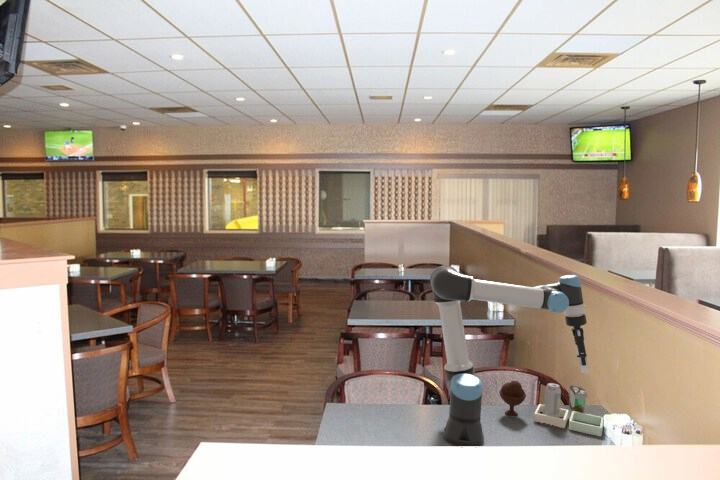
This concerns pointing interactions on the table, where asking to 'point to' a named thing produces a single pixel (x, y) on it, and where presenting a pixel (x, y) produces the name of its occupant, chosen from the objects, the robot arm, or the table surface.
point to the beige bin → (549, 419)
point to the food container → (577, 398)
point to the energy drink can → (552, 400)
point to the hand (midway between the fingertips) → (583, 366)
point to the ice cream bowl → (512, 396)
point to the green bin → (586, 427)
